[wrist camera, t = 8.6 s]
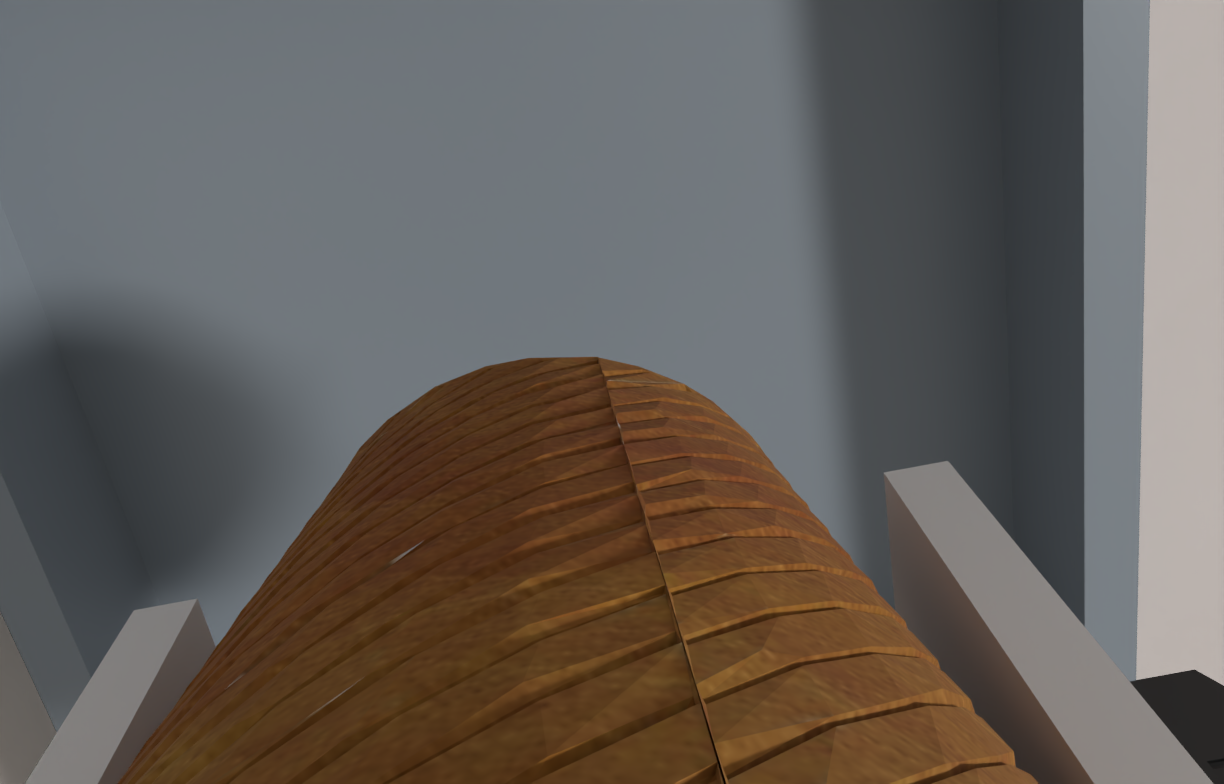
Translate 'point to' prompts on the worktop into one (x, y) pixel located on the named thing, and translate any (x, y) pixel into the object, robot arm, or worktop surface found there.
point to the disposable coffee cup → (569, 614)
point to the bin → (556, 265)
